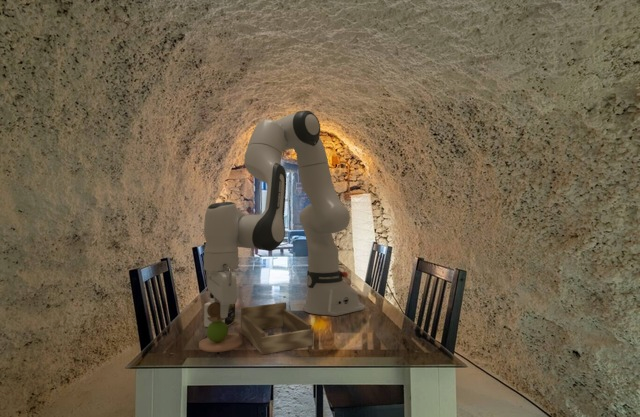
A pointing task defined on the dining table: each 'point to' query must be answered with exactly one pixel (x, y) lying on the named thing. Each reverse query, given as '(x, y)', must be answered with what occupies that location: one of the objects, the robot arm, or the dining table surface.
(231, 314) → the medicine bottle
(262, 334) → the cold frame
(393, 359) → the dining table surface
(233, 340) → the tan disc
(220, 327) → the snail figurine
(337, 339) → the dining table surface
